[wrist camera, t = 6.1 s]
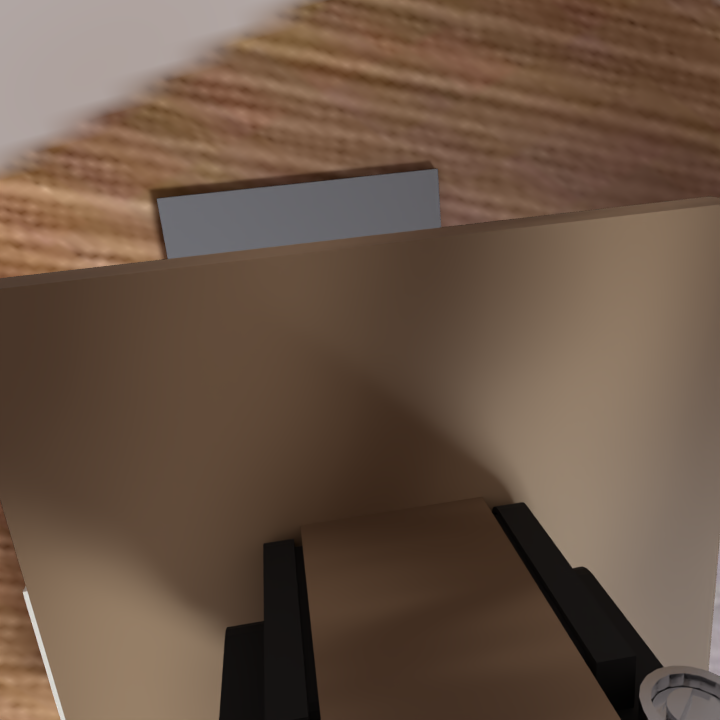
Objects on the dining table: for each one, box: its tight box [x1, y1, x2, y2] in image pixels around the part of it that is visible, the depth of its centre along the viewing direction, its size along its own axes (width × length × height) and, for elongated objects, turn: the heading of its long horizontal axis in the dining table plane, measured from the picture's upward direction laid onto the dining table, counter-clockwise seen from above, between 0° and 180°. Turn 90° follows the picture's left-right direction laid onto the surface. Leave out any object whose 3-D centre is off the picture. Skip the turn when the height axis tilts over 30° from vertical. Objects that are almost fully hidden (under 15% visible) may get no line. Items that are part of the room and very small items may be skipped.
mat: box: [157, 169, 441, 259], centre depth 31 cm, size 12×12×1 cm
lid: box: [0, 196, 720, 720], centre depth 10 cm, size 12×12×6 cm
